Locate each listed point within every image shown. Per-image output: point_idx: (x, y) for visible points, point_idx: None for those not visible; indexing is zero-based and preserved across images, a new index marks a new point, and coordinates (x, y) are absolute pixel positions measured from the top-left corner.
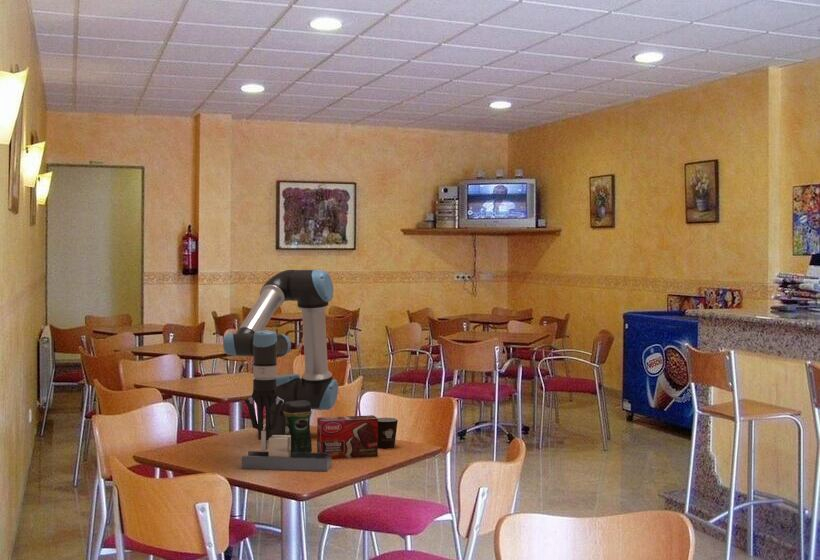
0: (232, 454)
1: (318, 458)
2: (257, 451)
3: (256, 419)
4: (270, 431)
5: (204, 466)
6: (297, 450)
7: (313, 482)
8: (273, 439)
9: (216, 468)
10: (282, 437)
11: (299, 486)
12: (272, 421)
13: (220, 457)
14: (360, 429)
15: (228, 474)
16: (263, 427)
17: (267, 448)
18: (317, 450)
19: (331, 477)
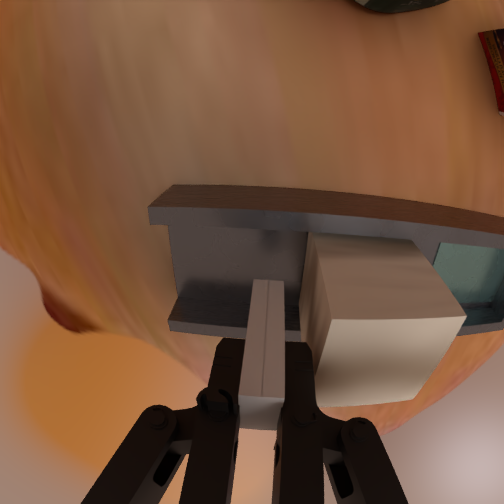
0: (62, 39)
1: (485, 330)
2: (206, 220)
3: (148, 476)
4: (314, 399)
5: (57, 262)
6: (413, 7)
7: (417, 393)
8: (335, 402)
9: (100, 288)
10: (397, 378)
11: (381, 416)
12: (337, 499)
13: (37, 109)
14: None
15: (176, 355)
16: (236, 408)
17: (283, 285)
18: (496, 38)
19: (468, 354)
